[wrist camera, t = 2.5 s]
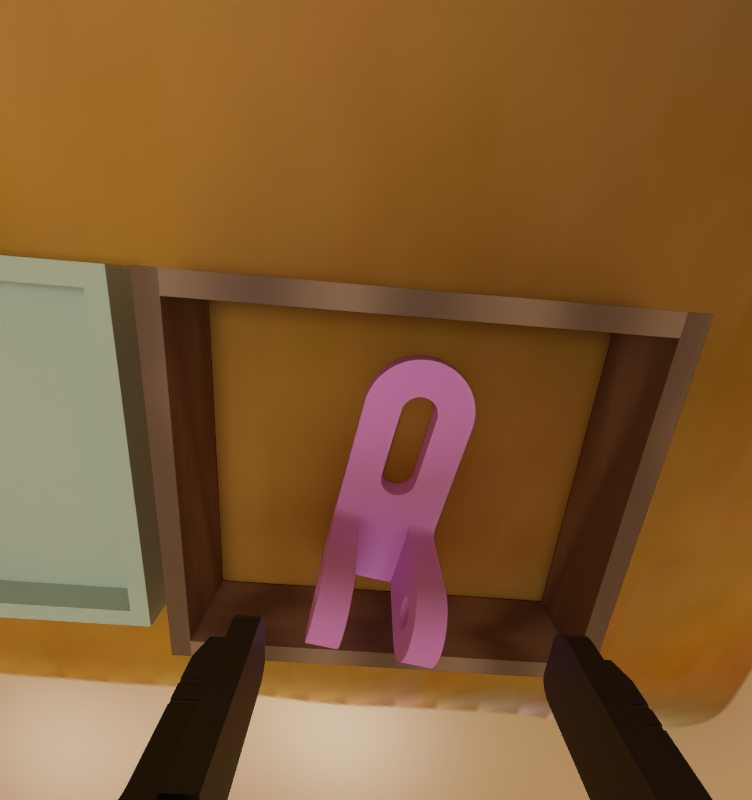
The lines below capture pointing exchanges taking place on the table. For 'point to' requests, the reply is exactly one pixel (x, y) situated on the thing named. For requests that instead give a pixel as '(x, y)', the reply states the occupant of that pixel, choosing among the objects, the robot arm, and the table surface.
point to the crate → (371, 610)
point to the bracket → (395, 511)
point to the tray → (74, 448)
